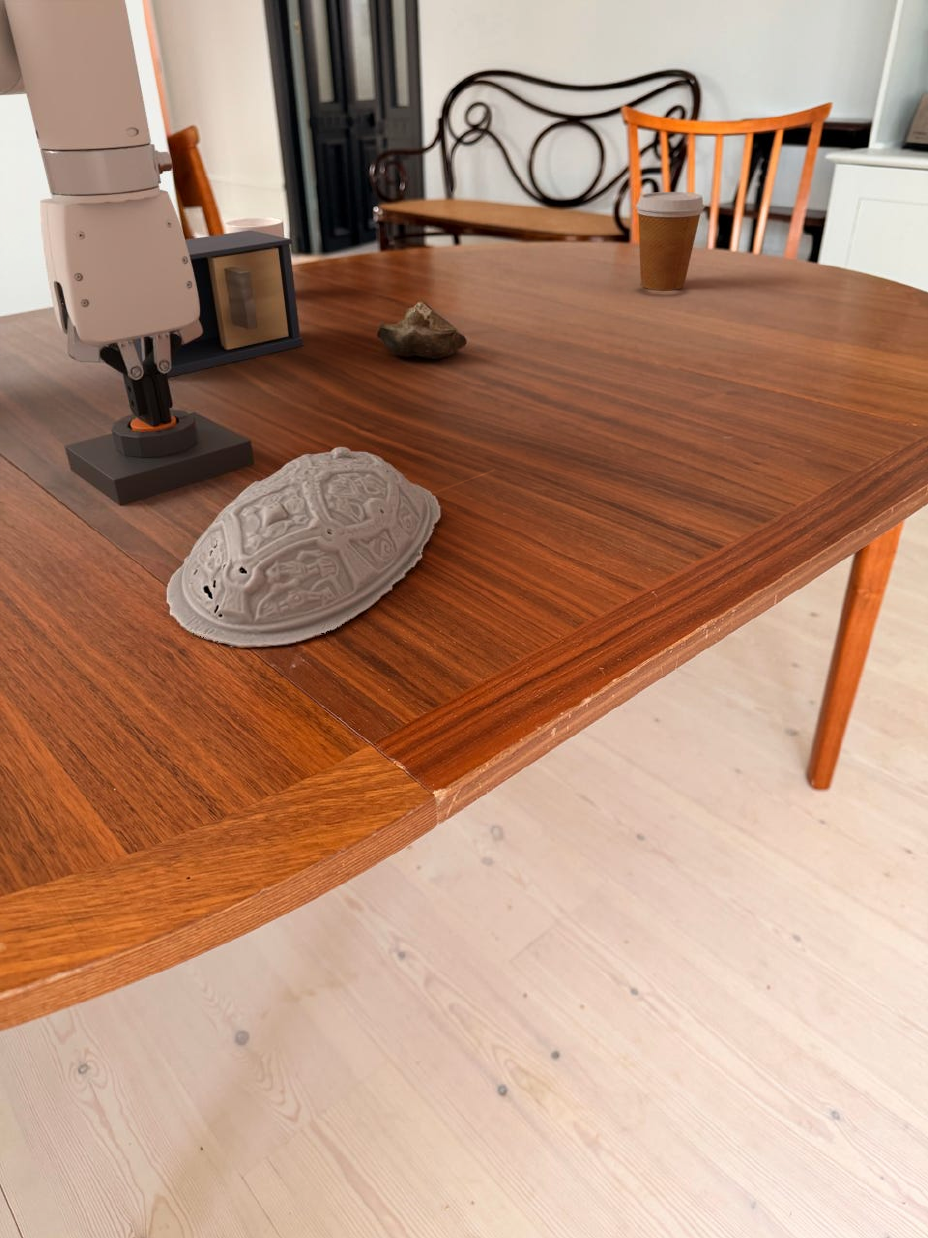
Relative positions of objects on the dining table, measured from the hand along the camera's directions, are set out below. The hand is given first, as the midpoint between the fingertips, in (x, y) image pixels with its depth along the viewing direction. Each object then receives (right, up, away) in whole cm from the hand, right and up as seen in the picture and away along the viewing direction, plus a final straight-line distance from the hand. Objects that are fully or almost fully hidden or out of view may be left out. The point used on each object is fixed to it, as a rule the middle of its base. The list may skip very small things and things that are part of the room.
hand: (154, 420), depth 75 cm
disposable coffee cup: (+55, +32, +58) cm, 86 cm away
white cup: (-3, +30, +57) cm, 64 cm away
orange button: (0, -1, +1) cm, 2 cm away
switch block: (0, -4, +2) cm, 4 cm away
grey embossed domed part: (+15, -12, -11) cm, 22 cm away
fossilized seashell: (+21, +14, +29) cm, 39 cm away
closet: (-4, +15, +31) cm, 35 cm away
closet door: (+3, +15, +29) cm, 33 cm away
